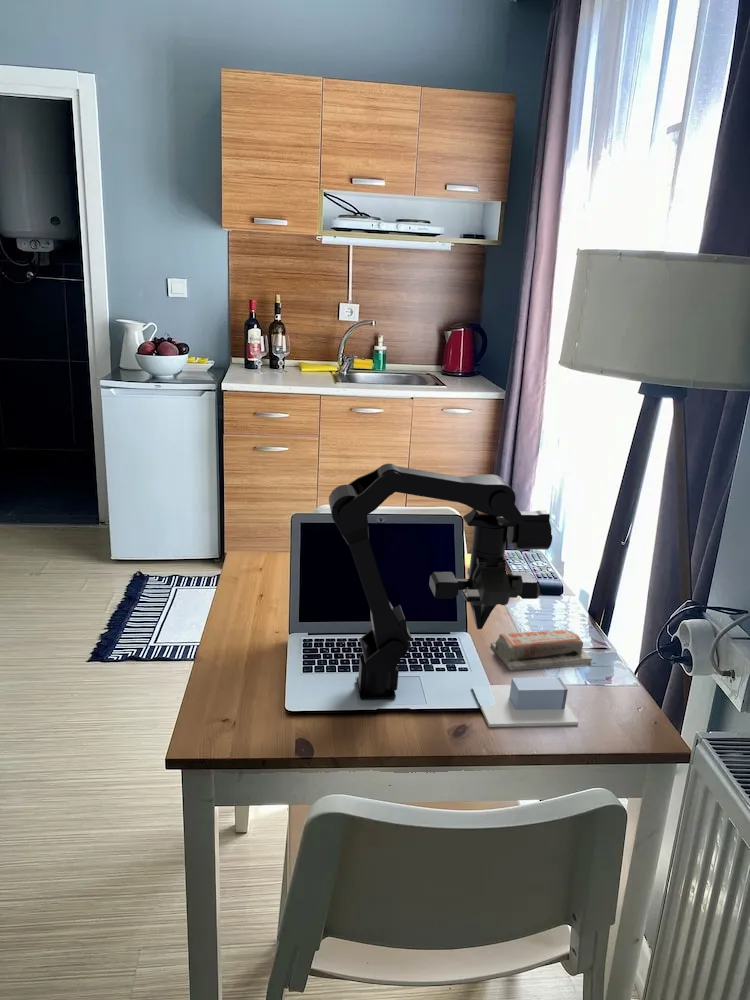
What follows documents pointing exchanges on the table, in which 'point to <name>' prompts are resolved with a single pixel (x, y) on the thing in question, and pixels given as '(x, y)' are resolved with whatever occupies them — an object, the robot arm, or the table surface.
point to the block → (538, 693)
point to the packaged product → (540, 649)
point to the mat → (522, 712)
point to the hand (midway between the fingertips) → (478, 628)
